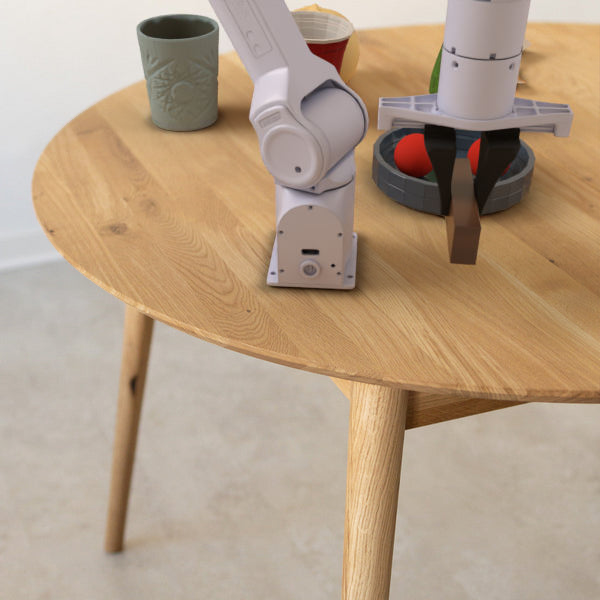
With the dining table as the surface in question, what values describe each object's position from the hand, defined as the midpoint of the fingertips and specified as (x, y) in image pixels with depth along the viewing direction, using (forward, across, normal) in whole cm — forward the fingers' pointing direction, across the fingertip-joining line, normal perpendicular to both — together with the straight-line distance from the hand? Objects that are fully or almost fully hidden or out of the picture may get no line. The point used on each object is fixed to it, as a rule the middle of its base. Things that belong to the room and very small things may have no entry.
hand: (460, 211), depth 65 cm
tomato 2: (+6, -5, -22) cm, 23 cm away
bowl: (+8, -1, -22) cm, 24 cm away
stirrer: (+9, -13, -59) cm, 61 cm away
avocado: (+9, -3, -38) cm, 39 cm away
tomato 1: (+6, +3, -22) cm, 23 cm away
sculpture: (+9, +16, -51) cm, 54 cm away
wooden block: (+1, 0, 0) cm, 1 cm away
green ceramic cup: (+9, +32, -37) cm, 49 cm away
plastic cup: (+9, +16, -40) cm, 44 cm away
